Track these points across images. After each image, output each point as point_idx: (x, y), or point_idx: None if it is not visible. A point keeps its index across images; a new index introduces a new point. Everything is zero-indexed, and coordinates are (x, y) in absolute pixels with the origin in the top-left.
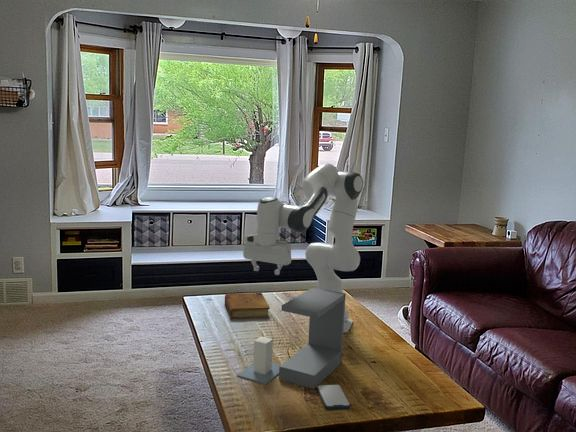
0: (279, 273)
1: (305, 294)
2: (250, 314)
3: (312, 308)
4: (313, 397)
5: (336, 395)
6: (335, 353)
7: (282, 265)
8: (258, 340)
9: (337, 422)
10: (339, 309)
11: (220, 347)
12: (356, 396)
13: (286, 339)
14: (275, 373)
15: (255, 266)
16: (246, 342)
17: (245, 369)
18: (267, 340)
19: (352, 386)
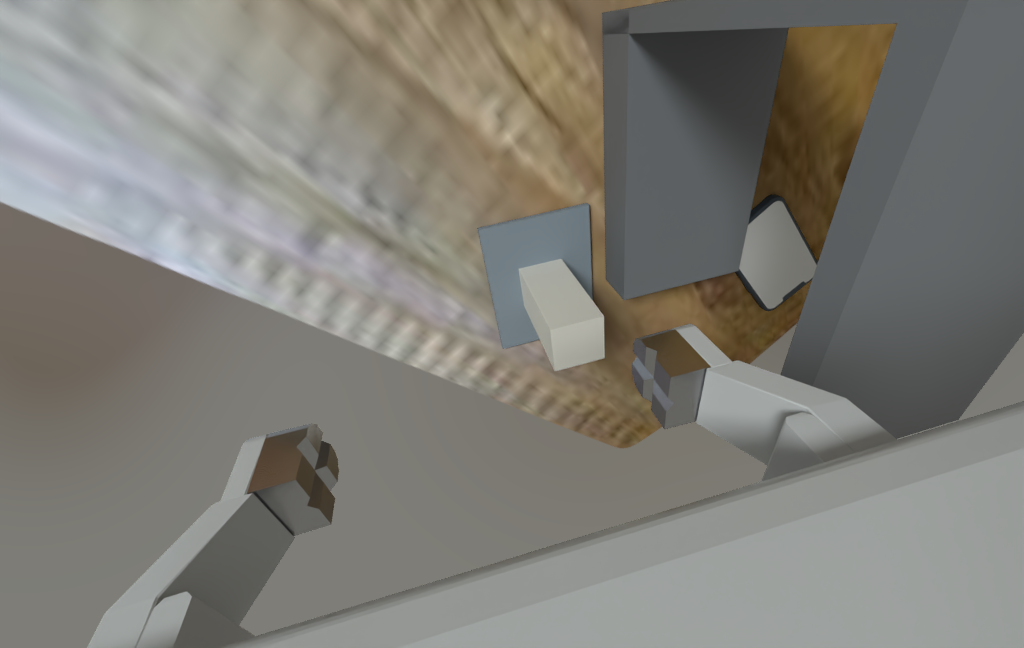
0: (693, 333)
1: (896, 250)
2: None
3: (936, 402)
4: (722, 286)
5: (782, 255)
6: (773, 47)
7: (855, 415)
8: (566, 360)
9: (791, 325)
10: None
11: (268, 249)
12: (824, 204)
13: None
14: (585, 269)
15: (286, 534)
16: (284, 120)
17: (497, 313)
18: (593, 338)
19: (811, 159)
